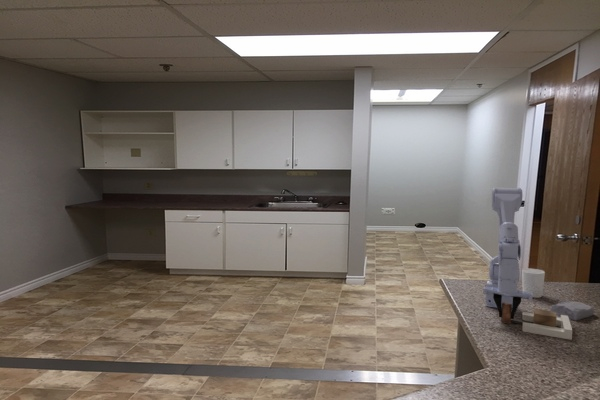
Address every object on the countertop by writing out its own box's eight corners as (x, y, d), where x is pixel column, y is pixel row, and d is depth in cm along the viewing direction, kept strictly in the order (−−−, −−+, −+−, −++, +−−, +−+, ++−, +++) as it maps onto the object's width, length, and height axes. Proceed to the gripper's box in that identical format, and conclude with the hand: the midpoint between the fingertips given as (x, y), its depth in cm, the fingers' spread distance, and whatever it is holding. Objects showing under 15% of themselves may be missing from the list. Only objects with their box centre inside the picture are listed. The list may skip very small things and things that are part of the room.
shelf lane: (522, 331, 127) (522, 322, 127) (522, 317, 138) (522, 309, 138) (571, 339, 121) (572, 330, 121) (567, 324, 132) (567, 315, 132)
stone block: (548, 317, 143) (578, 321, 134) (546, 304, 144) (576, 307, 135) (567, 313, 149) (597, 316, 140) (565, 299, 149) (595, 302, 140)
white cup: (522, 290, 167) (523, 267, 166) (544, 294, 163) (545, 270, 162) (519, 295, 161) (520, 271, 160) (542, 299, 156) (543, 274, 155)
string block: (500, 323, 134) (501, 305, 133) (501, 317, 138) (502, 301, 137) (555, 332, 126) (556, 313, 126) (554, 326, 131) (555, 308, 130)
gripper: (483, 278, 134) (481, 317, 135) (533, 284, 127) (531, 325, 128) (484, 272, 140) (483, 310, 141) (532, 278, 133) (530, 318, 134)
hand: (506, 317), depth 135 cm, fingers closed on string block, 3 cm apart
